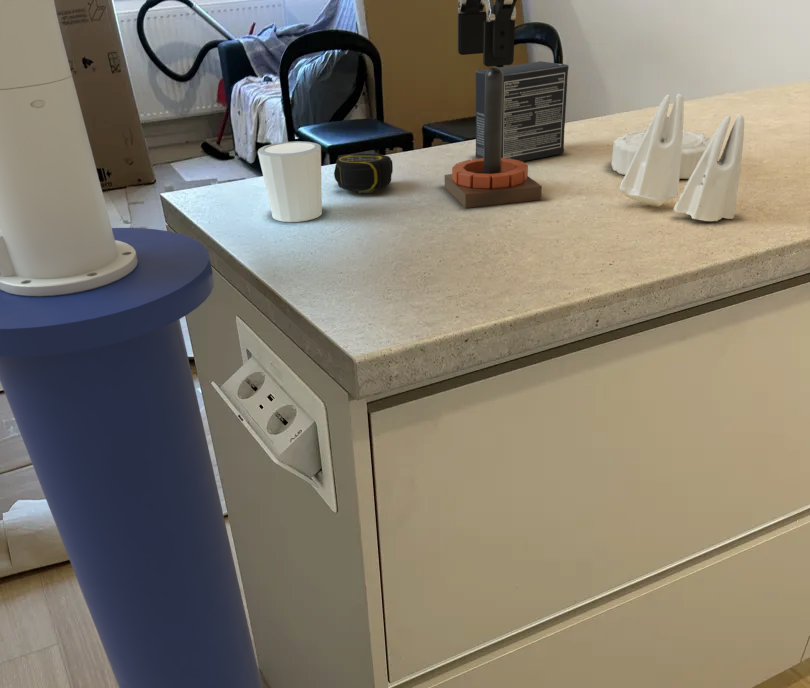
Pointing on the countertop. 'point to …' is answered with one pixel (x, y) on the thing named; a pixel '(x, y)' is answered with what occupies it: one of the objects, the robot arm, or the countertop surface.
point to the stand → (493, 155)
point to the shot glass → (292, 180)
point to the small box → (527, 110)
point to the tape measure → (363, 172)
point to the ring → (471, 176)
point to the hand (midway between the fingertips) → (484, 59)
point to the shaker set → (661, 159)
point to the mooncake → (630, 142)
